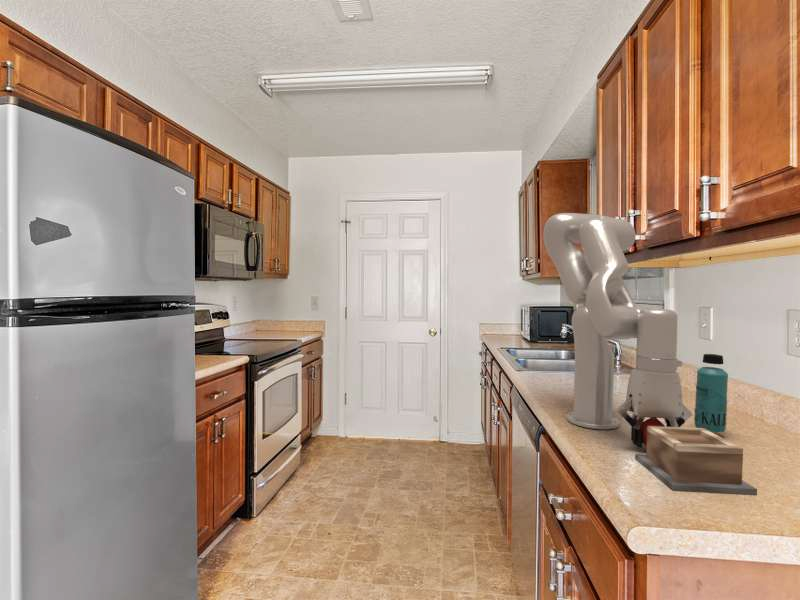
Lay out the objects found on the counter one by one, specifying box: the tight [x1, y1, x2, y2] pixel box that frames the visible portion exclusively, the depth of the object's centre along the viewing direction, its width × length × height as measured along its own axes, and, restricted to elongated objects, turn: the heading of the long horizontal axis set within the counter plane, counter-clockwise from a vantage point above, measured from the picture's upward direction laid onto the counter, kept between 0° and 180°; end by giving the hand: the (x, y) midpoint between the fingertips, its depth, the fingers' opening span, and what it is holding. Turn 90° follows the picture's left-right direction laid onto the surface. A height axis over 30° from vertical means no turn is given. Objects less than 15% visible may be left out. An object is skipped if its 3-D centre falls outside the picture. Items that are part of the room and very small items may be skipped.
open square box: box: [634, 426, 758, 496], centre depth 81 cm, size 14×14×8 cm
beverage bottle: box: [693, 353, 729, 434], centre depth 104 cm, size 6×7×20 cm
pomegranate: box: [641, 418, 666, 448], centre depth 93 cm, size 6×6×8 cm
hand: (652, 445), depth 93 cm, fingers closed on pomegranate, 5 cm apart
